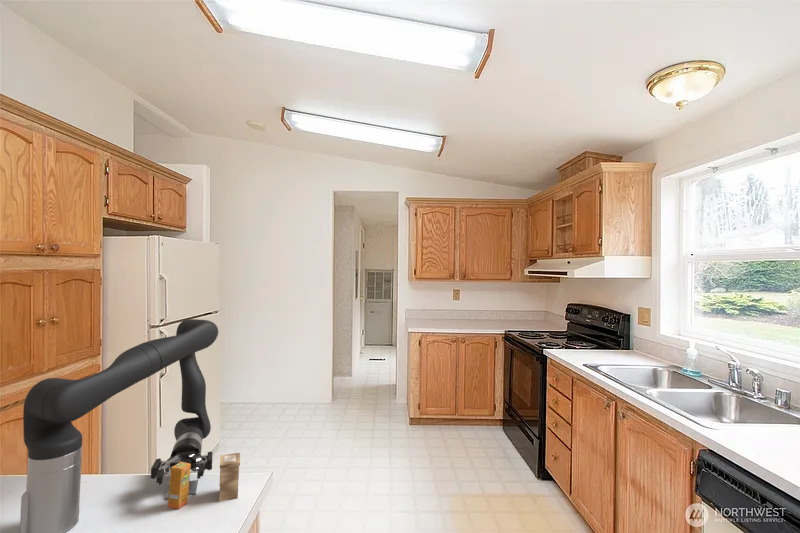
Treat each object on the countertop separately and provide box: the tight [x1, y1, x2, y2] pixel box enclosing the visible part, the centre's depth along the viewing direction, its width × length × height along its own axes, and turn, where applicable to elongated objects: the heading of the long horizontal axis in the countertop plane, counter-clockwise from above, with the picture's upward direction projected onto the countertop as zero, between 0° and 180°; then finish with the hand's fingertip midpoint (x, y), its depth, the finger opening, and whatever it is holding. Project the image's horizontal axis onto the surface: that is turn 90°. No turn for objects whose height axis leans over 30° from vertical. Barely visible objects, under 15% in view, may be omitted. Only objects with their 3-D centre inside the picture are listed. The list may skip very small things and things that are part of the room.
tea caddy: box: [218, 452, 241, 502], centre depth 103 cm, size 5×6×9 cm
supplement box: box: [167, 462, 191, 510], centre depth 98 cm, size 3×3×10 cm
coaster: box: [164, 479, 199, 501], centre depth 104 cm, size 7×7×1 cm
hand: (179, 478), depth 98 cm, fingers open, 8 cm apart
